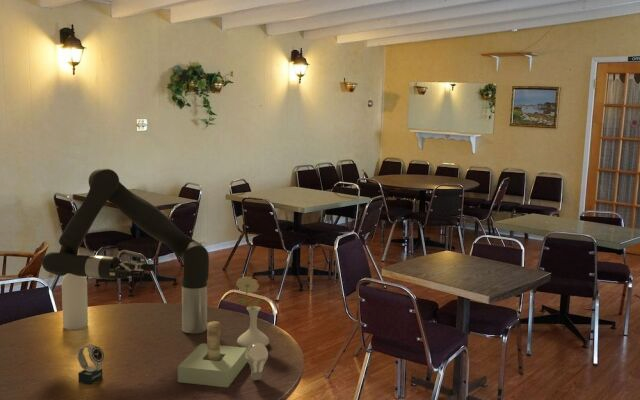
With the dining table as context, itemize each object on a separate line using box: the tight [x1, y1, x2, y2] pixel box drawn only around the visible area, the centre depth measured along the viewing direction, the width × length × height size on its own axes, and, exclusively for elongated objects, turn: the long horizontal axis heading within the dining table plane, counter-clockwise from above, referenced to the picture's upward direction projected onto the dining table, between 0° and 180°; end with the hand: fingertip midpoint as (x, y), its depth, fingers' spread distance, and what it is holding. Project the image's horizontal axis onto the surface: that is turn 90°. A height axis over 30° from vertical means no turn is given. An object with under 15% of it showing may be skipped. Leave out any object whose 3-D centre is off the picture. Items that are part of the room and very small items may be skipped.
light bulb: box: [246, 343, 269, 382], centre depth 201 cm, size 7×7×12 cm
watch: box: [77, 343, 105, 386], centre depth 198 cm, size 6×8×11 cm
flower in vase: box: [235, 276, 270, 348], centre depth 229 cm, size 13×11×25 cm
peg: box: [206, 320, 221, 361], centre depth 206 cm, size 4×4×16 cm
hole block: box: [177, 343, 248, 388], centre depth 207 cm, size 20×16×5 cm
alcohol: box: [61, 248, 89, 331], centre depth 243 cm, size 9×9×30 cm
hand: (148, 270), depth 212 cm, fingers open, 8 cm apart
